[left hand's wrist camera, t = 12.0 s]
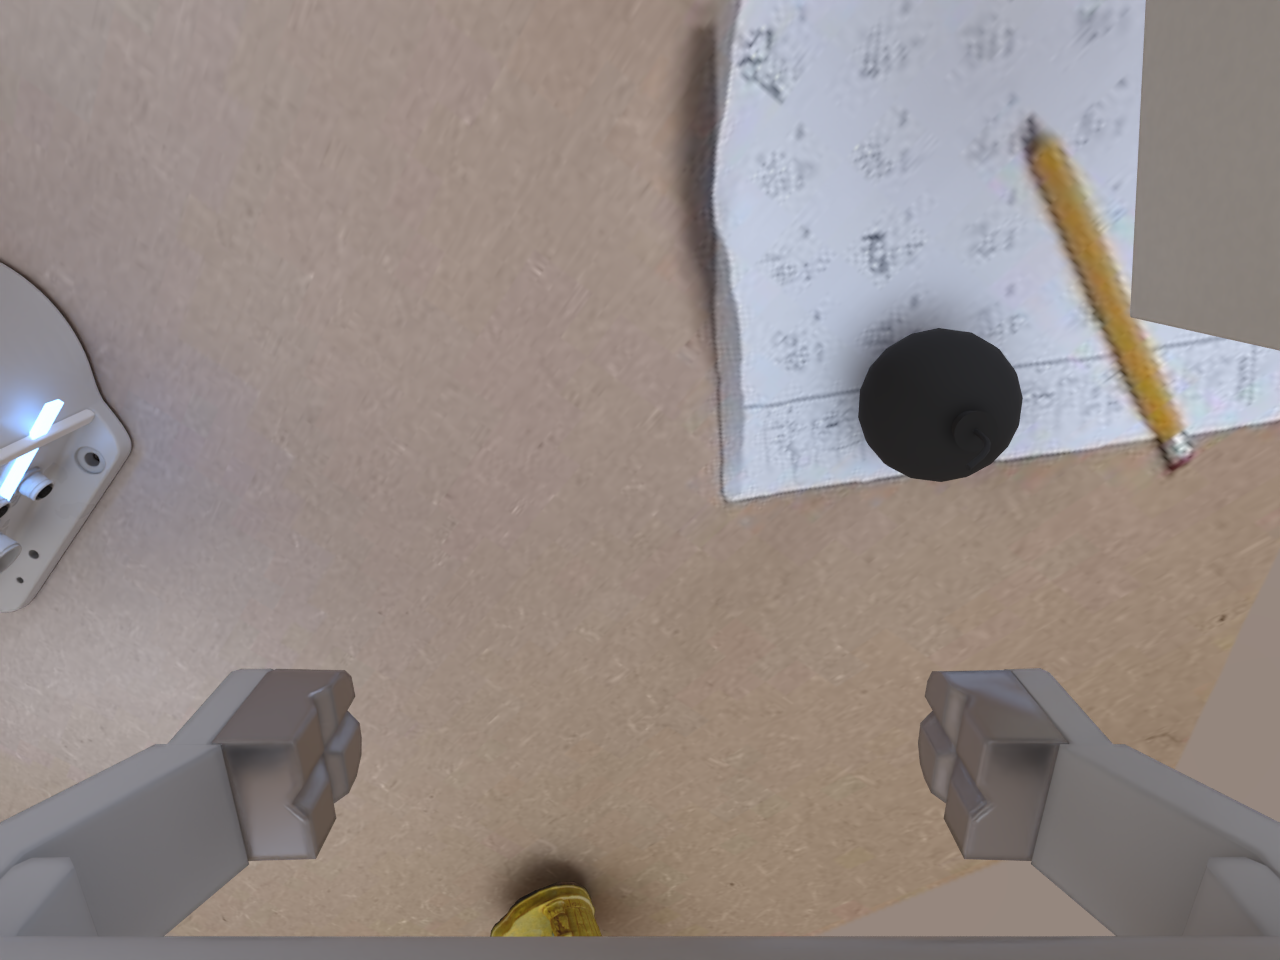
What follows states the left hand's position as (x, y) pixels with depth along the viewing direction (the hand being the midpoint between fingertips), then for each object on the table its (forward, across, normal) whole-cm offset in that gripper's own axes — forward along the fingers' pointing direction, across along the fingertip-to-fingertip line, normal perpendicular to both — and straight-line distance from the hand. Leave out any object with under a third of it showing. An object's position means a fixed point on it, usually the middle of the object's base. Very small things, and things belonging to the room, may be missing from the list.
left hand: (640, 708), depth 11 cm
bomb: (+33, -16, +3) cm, 37 cm away
